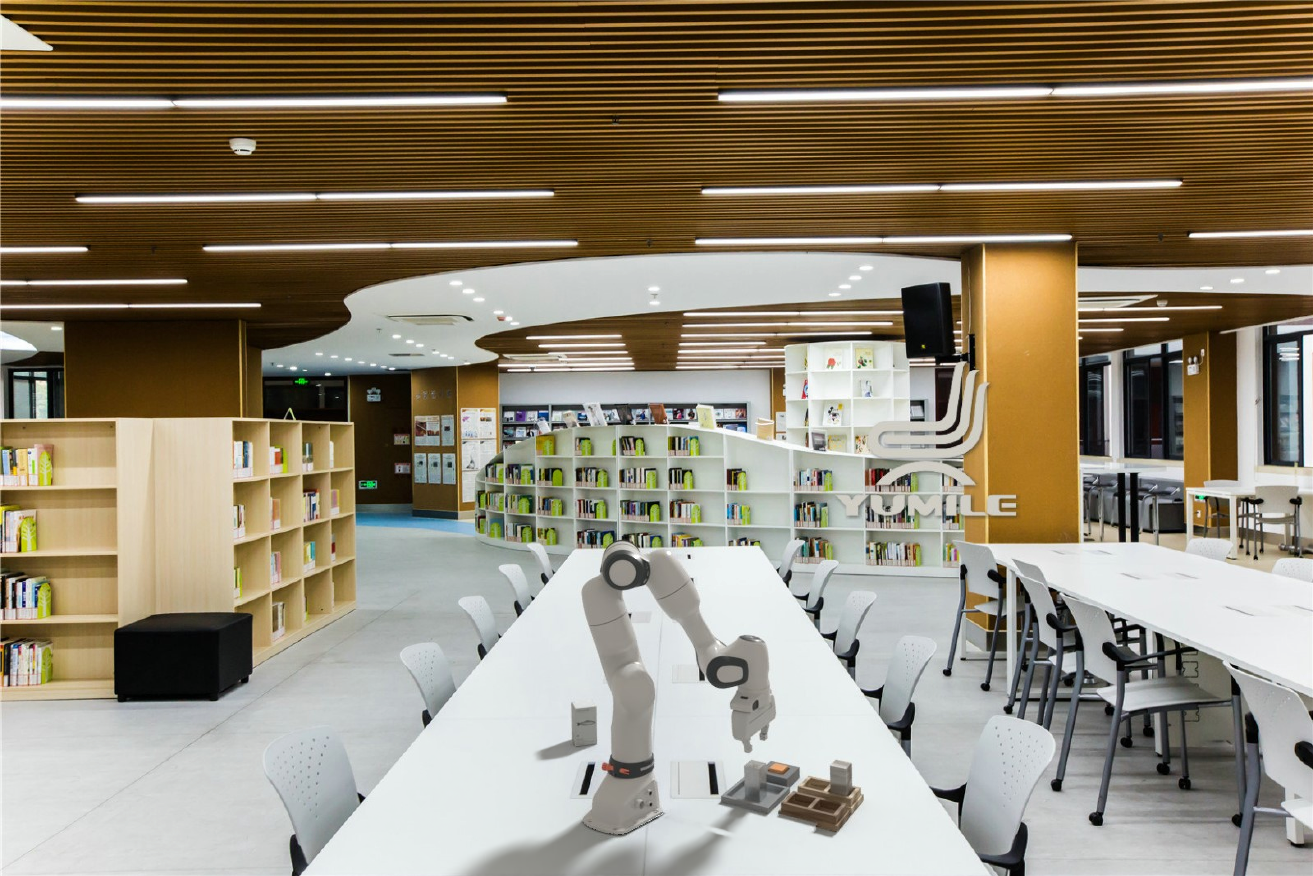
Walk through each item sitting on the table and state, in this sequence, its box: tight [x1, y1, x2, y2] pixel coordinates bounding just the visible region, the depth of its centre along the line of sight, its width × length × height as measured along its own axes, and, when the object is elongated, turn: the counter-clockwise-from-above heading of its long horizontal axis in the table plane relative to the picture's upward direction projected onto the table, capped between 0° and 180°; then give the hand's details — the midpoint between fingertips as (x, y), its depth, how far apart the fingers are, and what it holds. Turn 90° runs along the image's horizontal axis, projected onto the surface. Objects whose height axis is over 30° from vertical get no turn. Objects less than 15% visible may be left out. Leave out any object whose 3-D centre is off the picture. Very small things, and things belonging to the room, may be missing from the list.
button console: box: [766, 760, 801, 788], centre depth 230 cm, size 9×9×4 cm
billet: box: [743, 759, 767, 802], centre depth 220 cm, size 4×5×9 cm
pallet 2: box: [777, 790, 851, 833], centre depth 210 cm, size 10×16×4 cm, turn 57°
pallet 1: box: [797, 759, 865, 815], centre depth 220 cm, size 10×16×10 cm, turn 57°
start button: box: [769, 763, 788, 775], centre depth 230 cm, size 4×4×3 cm
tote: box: [720, 776, 791, 815], centre depth 220 cm, size 14×14×2 cm
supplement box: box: [570, 699, 598, 747], centre depth 265 cm, size 7×7×13 cm
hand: (756, 745), depth 220 cm, fingers open, 8 cm apart
